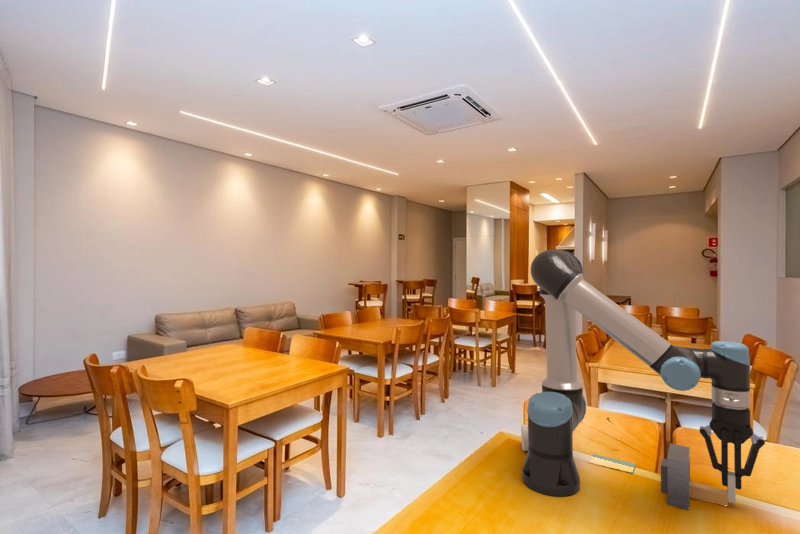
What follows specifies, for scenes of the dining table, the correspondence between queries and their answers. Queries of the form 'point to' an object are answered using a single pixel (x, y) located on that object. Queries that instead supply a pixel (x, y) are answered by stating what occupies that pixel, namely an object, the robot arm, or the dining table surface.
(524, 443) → the mug
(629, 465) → the pad
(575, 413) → the robot arm
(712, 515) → the dining table surface
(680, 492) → the housing
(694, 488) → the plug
